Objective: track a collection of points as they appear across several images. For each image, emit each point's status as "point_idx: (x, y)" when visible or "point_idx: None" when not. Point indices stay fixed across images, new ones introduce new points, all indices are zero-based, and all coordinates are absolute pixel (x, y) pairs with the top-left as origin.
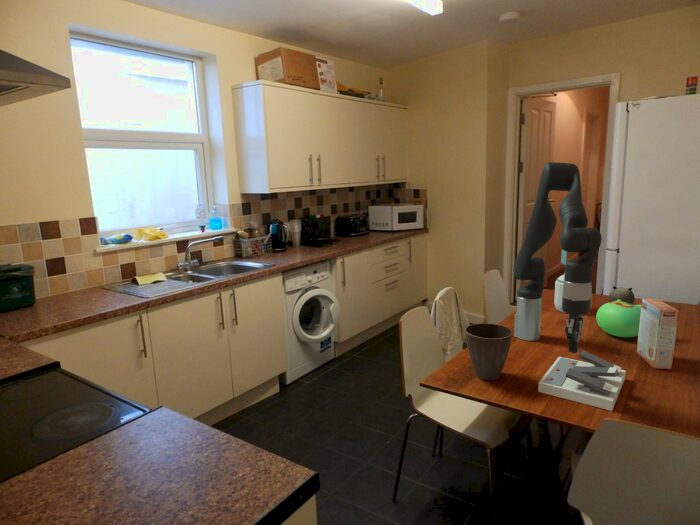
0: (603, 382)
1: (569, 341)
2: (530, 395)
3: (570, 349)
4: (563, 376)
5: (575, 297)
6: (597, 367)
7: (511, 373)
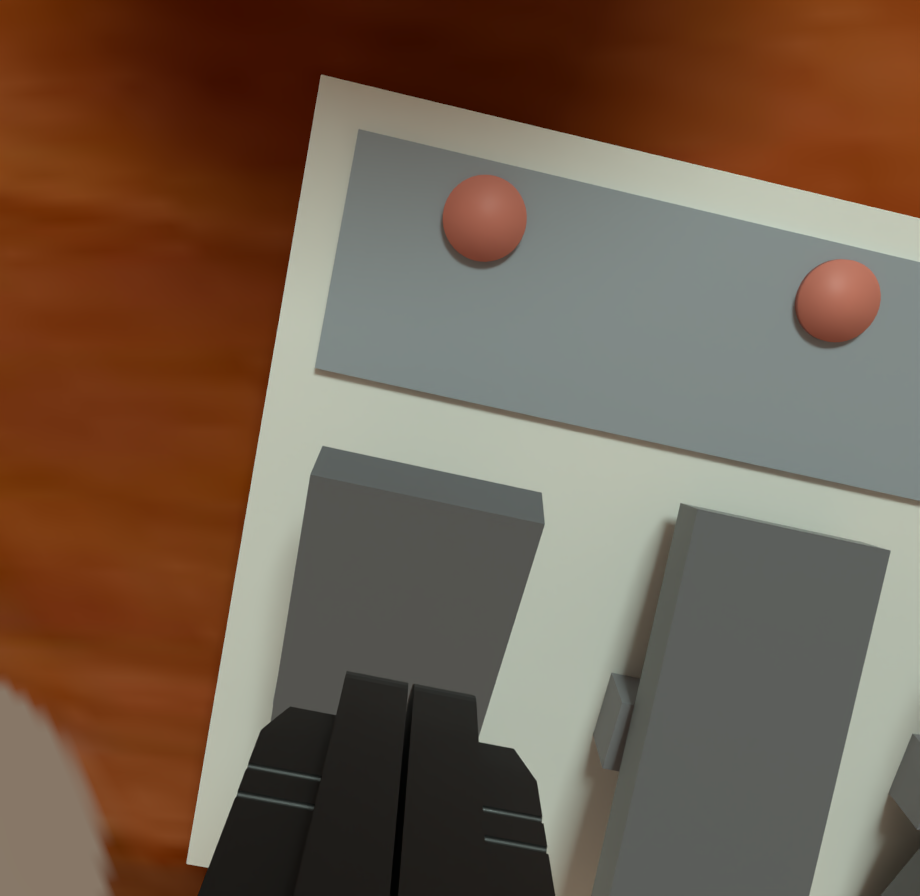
0: None
1: (300, 879)
2: (199, 9)
3: (254, 751)
4: (634, 397)
5: None
6: (807, 840)
7: None
